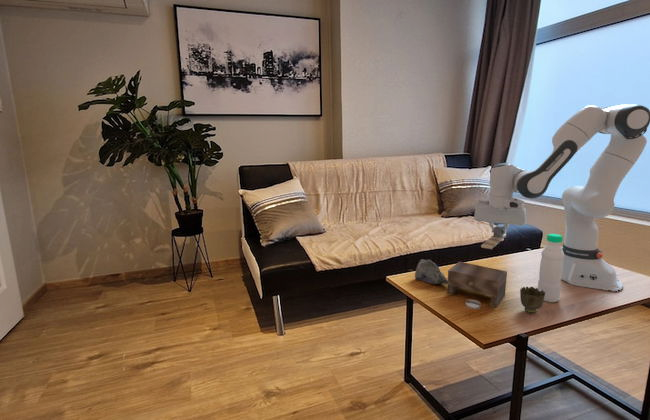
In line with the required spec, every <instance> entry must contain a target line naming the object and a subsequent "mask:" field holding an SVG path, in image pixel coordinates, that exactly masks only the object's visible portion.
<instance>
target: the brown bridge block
mask: <svg viewBox="0 0 650 420" xmlns="http://www.w3.org/2000/svg"><path fill="white" fill-rule="evenodd" d="M507 277H508V271H506V270H501V269H497V268H492V267H487V266H483V265H479V264H473V263H467V262H463V261H458V262H457V263H456V264H454V265H453V266H452V267H451V268H449V269H448V271H447V281H448V284H446V285H447V286H446V287H447V288H446V289H447V290H446V295H449V296H453V295H454V294H455V293H456V292H458V291H459V289H463V290H466V291H471V292H475V293H479V294H482V295H485V296H490V307H493V308H498V306H499V304H501V302H502V301H503V299H504V298H505V296H506V289H507V288H506V287H507Z"/></svg>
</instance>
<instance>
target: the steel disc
mask: <svg viewBox="0 0 650 420" xmlns="http://www.w3.org/2000/svg"><path fill="white" fill-rule="evenodd" d="M465 306H466V307H467V308H469V309H472V310H479V309H481V306H482V303H481V302H480V301H479V300H476V299H467V300H465Z"/></svg>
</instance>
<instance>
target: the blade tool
mask: <svg viewBox="0 0 650 420" xmlns="http://www.w3.org/2000/svg"><path fill="white" fill-rule="evenodd" d="M505 227H506V226H505V224H502V223H498V224H497V225H496V226H494V233H493V235H492V236H490V238H488V239H487V240H486V241H485V242H483V243H482V244H481V245H480V247H481V248H483V249H488V250H493V248H495V247H496V246H497V245H499V243H501V242H502V241H503V239H505V238H506V237H507V233H506V234H502V229H505Z"/></svg>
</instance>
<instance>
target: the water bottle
mask: <svg viewBox="0 0 650 420" xmlns="http://www.w3.org/2000/svg"><path fill="white" fill-rule="evenodd" d="M563 239H564V238H563V236H562V235H561V234H557V233H549V234H547V237H546V240H547V241H546V242H547V244H546V245H545V247H544V248H543V250H542V251H541V259H540V264H539V271H538V273H539V276H538V278H539V279H538V283H537V288H538V291H540V292H541V291H542V290H543V292H545V296H544V300H543V302H545V303H546V302H547V303H556V302H557V303H558V301H559V300H560V291H561V282H562V279H561V277H562V271H563V259H564V252H563V251H562V246H561V244H563V243H562V242H563Z"/></svg>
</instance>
